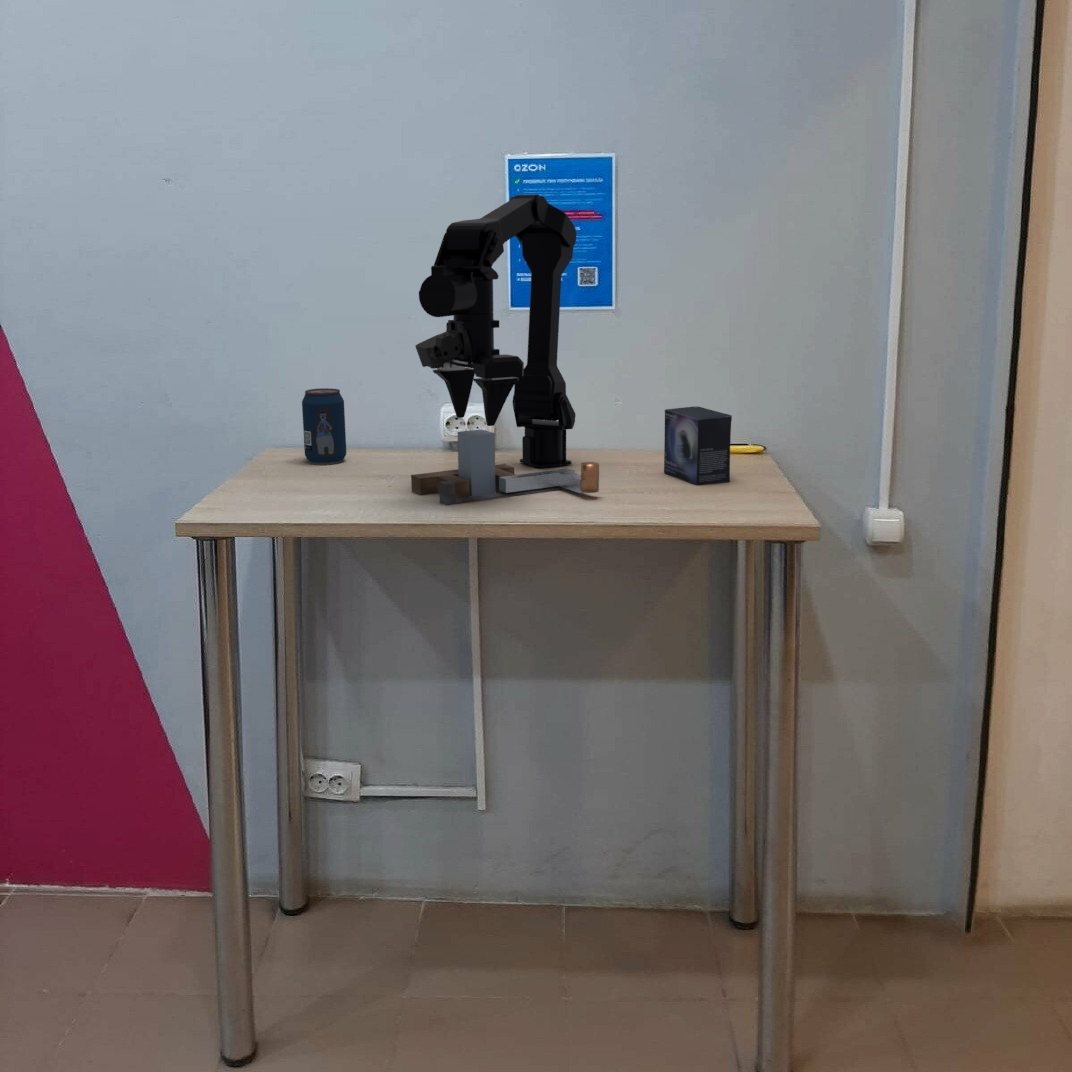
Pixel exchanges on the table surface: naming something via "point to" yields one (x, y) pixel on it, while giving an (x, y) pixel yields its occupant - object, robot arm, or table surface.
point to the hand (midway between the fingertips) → (475, 421)
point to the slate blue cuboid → (477, 460)
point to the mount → (463, 486)
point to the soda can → (324, 426)
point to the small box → (697, 445)
